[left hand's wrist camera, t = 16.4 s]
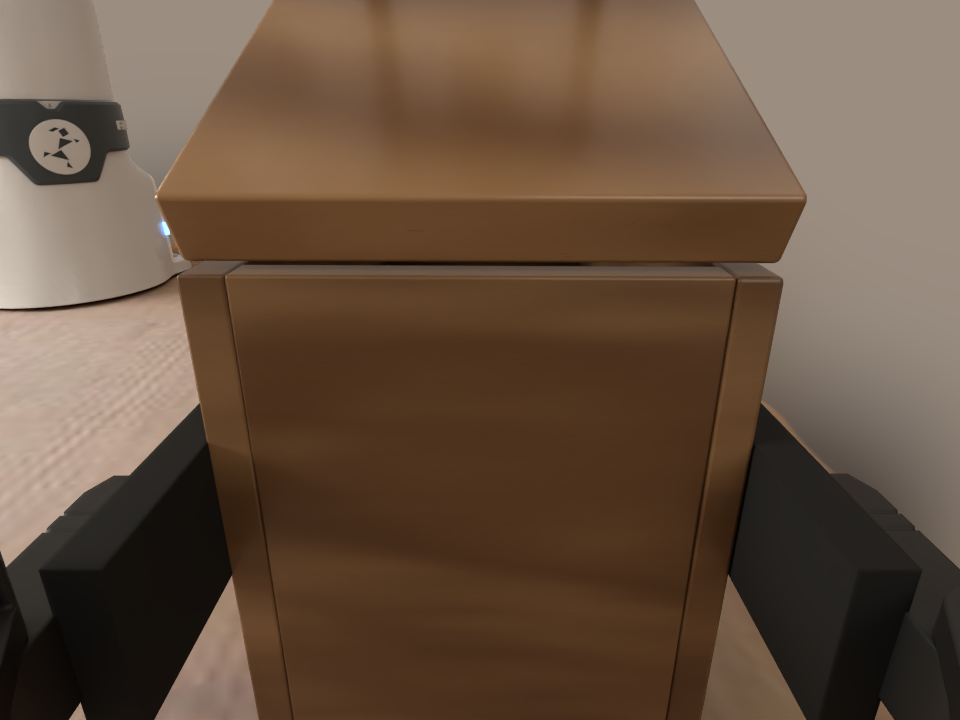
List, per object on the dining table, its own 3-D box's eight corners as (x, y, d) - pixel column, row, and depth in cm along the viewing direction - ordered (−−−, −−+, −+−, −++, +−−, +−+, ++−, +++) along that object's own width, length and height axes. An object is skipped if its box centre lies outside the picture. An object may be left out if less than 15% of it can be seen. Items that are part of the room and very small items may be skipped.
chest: (383, 430, 28) (366, 171, 24) (583, 432, 28) (602, 172, 24) (269, 784, 13) (174, 275, 9) (689, 789, 13) (787, 277, 9)
